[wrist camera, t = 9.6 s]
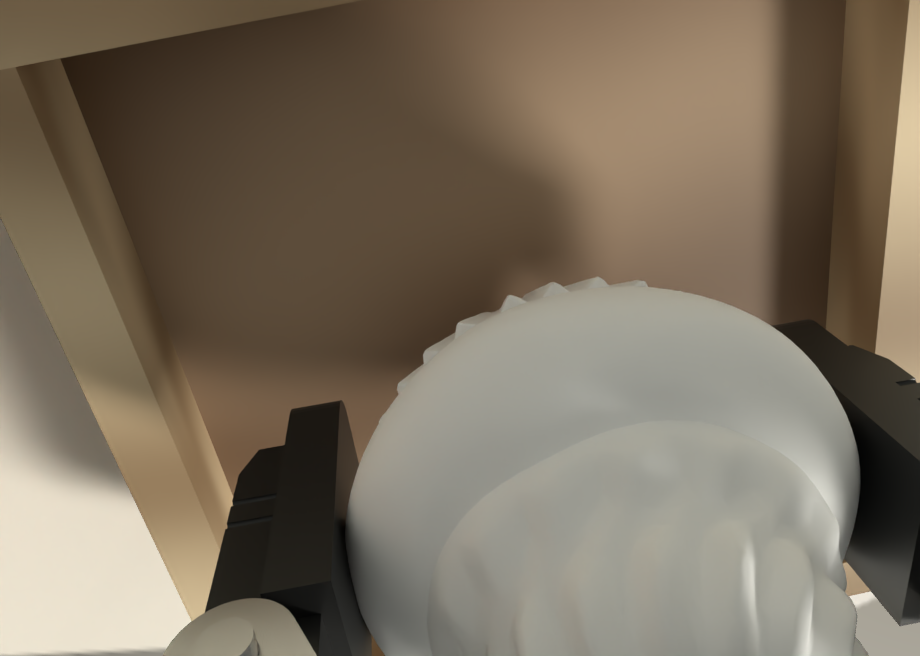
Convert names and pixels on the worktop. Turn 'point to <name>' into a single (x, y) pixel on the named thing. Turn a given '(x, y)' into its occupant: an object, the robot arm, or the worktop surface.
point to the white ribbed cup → (608, 487)
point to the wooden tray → (428, 196)
